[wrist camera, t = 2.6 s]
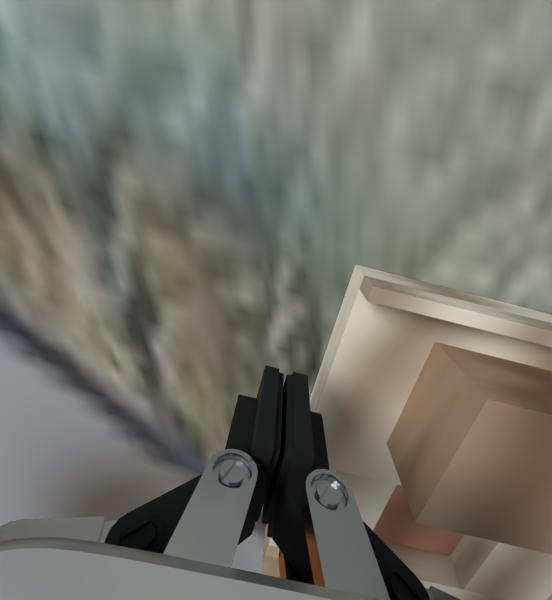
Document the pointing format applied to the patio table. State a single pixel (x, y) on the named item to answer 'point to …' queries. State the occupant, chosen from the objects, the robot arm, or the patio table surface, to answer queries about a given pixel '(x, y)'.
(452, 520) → the walnut block
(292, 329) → the patio table surface
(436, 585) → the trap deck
